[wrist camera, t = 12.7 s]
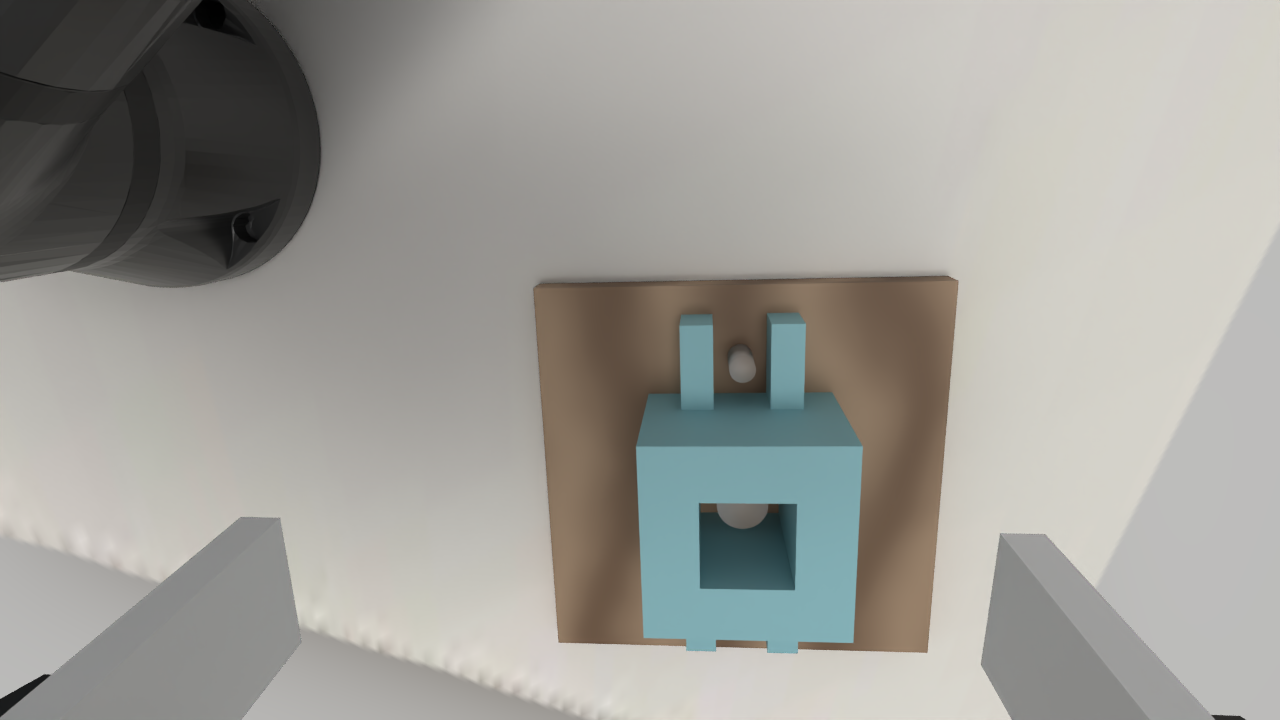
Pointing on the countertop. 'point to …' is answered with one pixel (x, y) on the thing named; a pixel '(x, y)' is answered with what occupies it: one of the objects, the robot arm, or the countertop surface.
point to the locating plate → (834, 362)
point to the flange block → (753, 474)
